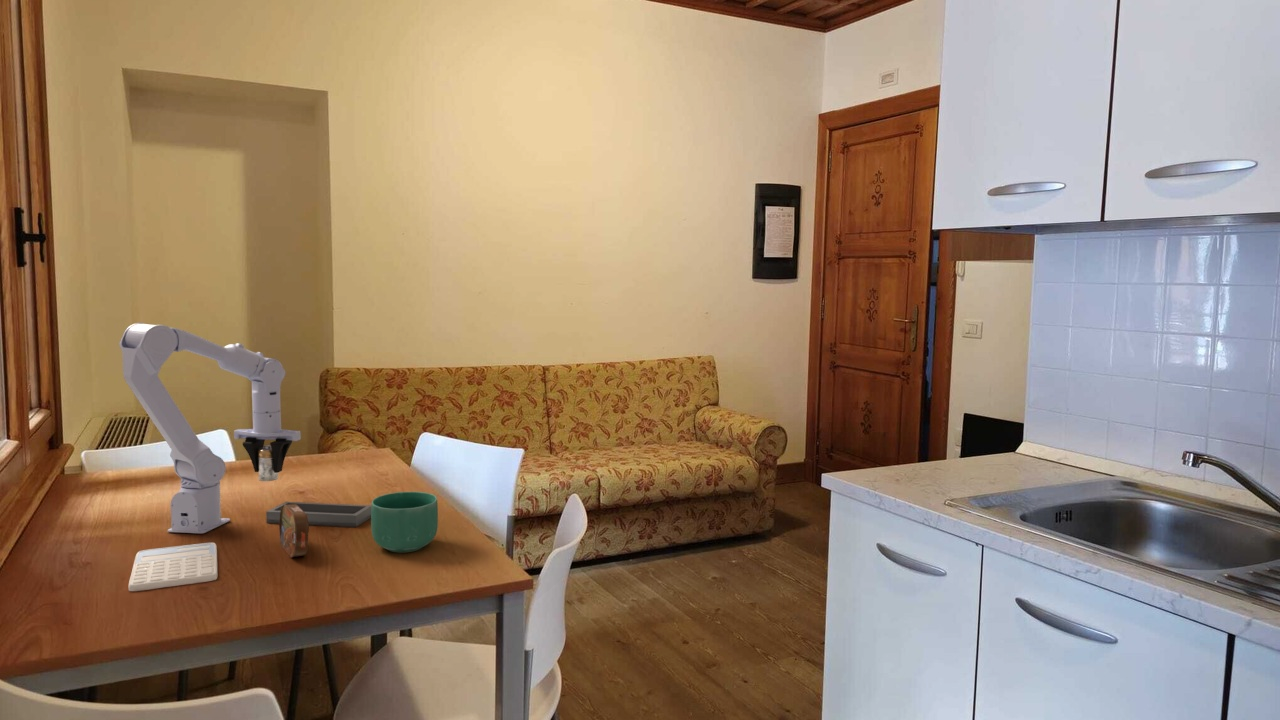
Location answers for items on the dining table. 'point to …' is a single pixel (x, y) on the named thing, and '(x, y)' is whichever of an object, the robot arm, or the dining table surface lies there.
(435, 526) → the mug
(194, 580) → the calculator
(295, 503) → the trough
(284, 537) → the tin
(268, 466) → the cell
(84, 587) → the dining table surface
